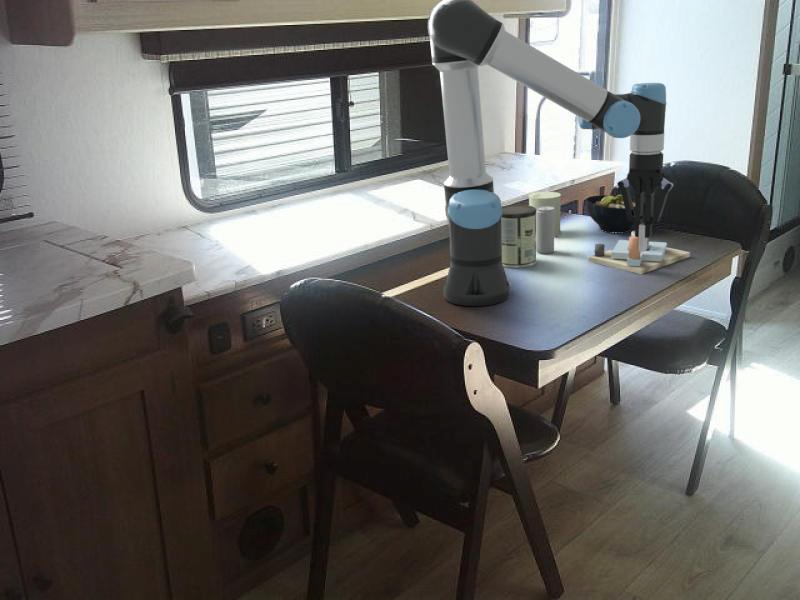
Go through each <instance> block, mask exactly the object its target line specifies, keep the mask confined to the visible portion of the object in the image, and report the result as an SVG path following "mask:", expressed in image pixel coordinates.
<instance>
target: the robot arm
mask: <svg viewBox="0 0 800 600" xmlns="http://www.w3.org/2000/svg"><path fill="white" fill-rule="evenodd" d="M427 32H428V36H429V40H430V41H429V43H430V53H431V63H432V66H433V67H435V68H436V69H437V70H438V71H439V76H440V77H439V78H440V86H441V87H440V88H441V98H442V108H443V120H444V129H445V141H446V152H447V161H448V172H449V176H448V177H447V178H446V180H445V181H443V188H444V200H445V206H444V211H445V216H446V219H447V223H448V230H449V254H450V255H449V256H450V259H449V260H450V261H449V262H450V263H449V269H448V272H447V277H446V282H445V283H444V286H443V297H444V300H445V301H447V302H449V303H452V304H455V305H459V306H466V307H484V306H492V305H497V304H501V303H502V302H504V301H505V302H506V300H508V299H509V298H510V297H511V288H510V287H511V286H510V283H509V281H508V277H507V274H506V270H505V267H503V265H502V229H501V215H502V206H503V205H502V201H501V200H502V199H501V198H500V197H499V195H498V194H496V193H495V189H494V178H493V177H492V176H491V175H490V174H488V172H487V170H486V158H485V156H486V155H485V143H484V131H483V118H482V107H481V93H480V80H479V79H480V77H479V67H482V66H490V67H491V68H492V69H495V70H496V71H498V72H500V73H501V74H503V75H504V76H506V77H508V78H510V79H512V80H513V81H516V82H518V83H519V84H521V85H522V86H524V87H526V88H527V89H528V90H529V89H530V90H531V91H533V92H534V93H536V94H538V95H540V96H542V97H544V98H545V99H547V100H549V101H551V102H552V103H553V104H554V103H555V104H556V105H558V106H559V107H561V108H563V109H565V110H567V111H568V112H570V113H572V114H573V115H575V116H576V117H577V122H578V125H579V127H580V129H582V130H591V131H594V130H601V131H603V132H605V133H606V134H607V135H609V136H611V137H612V138H614V139H626V138H628V137H629V138H630V139H629V151H631V152H630V154H629V159H628V160H629V161H628V162H629V163H628V164H629V169H628V173H627V174H626V177H624V178H623V179H621V180H620V181H617V182H616V183H617V184H616V185H617V187H618V189H619V190H620V191H621V195H622V197H623V202H624V206H625V211H626V215H627V220H628V221H632V222H634V223H635V224H634V231H635V237H639V243H638V251H639V252H644V251H645V250H647V238H649V239H650V238H651V237H652V235H653V234H652V233H653V232H652V231H653V224H657V223H658V222H659V221H661V219H662V215H663V213H664V212H663V211H664V210H665V206H666V203H667V199H668V197H669V193H670V191H671V190H672V189H673V187H674V186H675V183H674V182H672V181H671V182H670V181H669V180H668V179H666V178H665V174H664V171H663V169H664V153H663V152H662V151H663V150H664V146H665V125H666V124H665V123H666V110H667V87H666V86H665V84H663V83H661V82H642V83H635V84H633V85H632V86H631V90H630V92H628V93H619V94H618V93H617V94H614V93H612V92H610V91H609V90H608V89H605V88H604V87H603V86H601V85H599V84H597V83H595V82H594V81H592V80H591V79H589V78H587V77H585V76H584V75H582V74H580V73H578V72H577V71H575V70H573V69H572V68H570V67H568V66H566V65H564V64H563V63H562V62H559V61H558V60H556V59H554V58H553V57H551V56H550V55H548V54H546V53H544V52H542V51H540V50H539V49H537V48H536V47H534V46H532V45H531V44H529V43H527V42H525V41H523V39H520V38H518V37H517V36H515V35H513V34H511V33H510V32H508V31H507V30H505V25H504V23H503V22H502V21H500V20H498V19H496V18H495V17H493V16H492V15H490V14H489V13H488V12H487V11H485V10H484V9H482V7H481V6H479V5H478V4H477V3H475V2H474V0H441V1H440V2H439V3H437V4H436V5H435V6H434V7H433V8H432V10H431V12H430V14H429V17H428V19H427ZM630 185H631V188H633V190H634V196H635V213H634V208H633V203H632V199H631V196H632V195H631V190H630ZM660 185H661V187H660V188H661V192H660V195H659V197H658V202H657V204H656V208H655V211H654V203H655V202H654V201H655V193H656V190H657V189H658V188H659V186H660ZM644 195H645V196H644ZM643 197H645V198H646V207H645V213H644V215H643ZM643 216H644V217H643ZM643 221H644V222H643Z"/></svg>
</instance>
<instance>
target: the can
mask: <svg viewBox="0 0 800 600" xmlns="http://www.w3.org/2000/svg"><path fill="white" fill-rule="evenodd" d="M561 199H562V194H561V193H560V192H556V191H536V192H532V193H530V194H529V193H528V206H533V207H535V208H536V210H537V208H538V207H542V206H549V207H553V208H554V211H555V220H554V238H556V237H558V236H560V235H562V234H561V233H562V232H561V207H562V206H561V203H562V200H561Z"/></svg>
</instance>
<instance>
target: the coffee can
mask: <svg viewBox="0 0 800 600" xmlns="http://www.w3.org/2000/svg"><path fill="white" fill-rule="evenodd" d="M501 206H502V215H501V229H502V265H503V268H510V269H511V268H512V269H518V268H522V269H523V268H529V267H531V266H534V265H535V264H536V263H537V251H536V208H535V207H533V206H529V204H526V205H525V204H524V205H523V204H511V205H509V204H508V205H504V206H503V205H501Z"/></svg>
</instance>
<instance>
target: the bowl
mask: <svg viewBox="0 0 800 600" xmlns="http://www.w3.org/2000/svg"><path fill="white" fill-rule="evenodd" d="M631 199H632V203H633V208H634V213H635V195H631ZM585 204H586V210H587V213H588V215H589V216H590V218H591V219H592V220H593V221H594V222H595V223H596V224H597V225H598V227H599V229H600V231H602V230H603V232H604V231H606V232H605V233H610V232H614V233H613V234H619V233H618V232H623V233H627V232H626V231H628V232H630V231H631V230H632V228H633V226H635V223H634V222H632V221H628V220H627V215H626V211H625V206H624V202H623V197H622V194H617V195H607V194H606V195H593V196H588V197H587V198H586V199H585ZM645 207H646V196H643V216H645ZM629 230H630V231H629ZM615 232H617V233H615Z"/></svg>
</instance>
